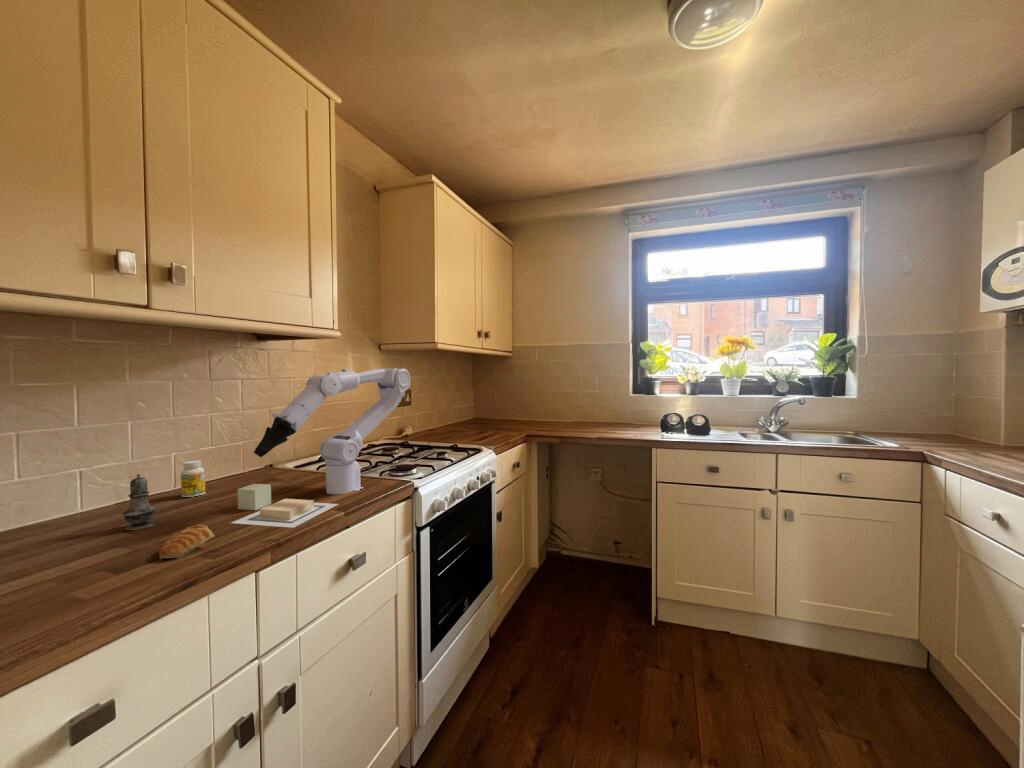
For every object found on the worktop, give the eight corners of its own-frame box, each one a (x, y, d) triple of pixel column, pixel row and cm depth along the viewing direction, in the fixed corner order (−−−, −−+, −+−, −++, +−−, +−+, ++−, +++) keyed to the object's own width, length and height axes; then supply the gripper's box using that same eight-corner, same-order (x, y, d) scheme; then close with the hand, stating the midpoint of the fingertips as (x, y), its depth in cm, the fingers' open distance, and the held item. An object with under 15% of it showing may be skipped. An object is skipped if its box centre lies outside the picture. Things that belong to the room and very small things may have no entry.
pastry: (185, 561, 76) (184, 540, 76) (146, 563, 75) (145, 543, 75) (217, 540, 85) (216, 522, 85) (182, 542, 84) (181, 524, 84)
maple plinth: (285, 506, 103) (285, 498, 103) (314, 508, 101) (313, 500, 101) (260, 517, 95) (259, 509, 95) (290, 519, 93) (290, 511, 93)
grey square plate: (283, 504, 107) (283, 500, 107) (338, 507, 104) (338, 503, 104) (230, 527, 92) (230, 522, 92) (293, 532, 88) (293, 527, 88)
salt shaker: (164, 523, 95) (162, 471, 95) (134, 532, 89) (132, 477, 89) (145, 520, 97) (143, 470, 96) (115, 530, 91) (113, 476, 91)
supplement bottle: (209, 492, 120) (207, 459, 120) (199, 497, 115) (198, 463, 114) (187, 493, 119) (186, 460, 118) (177, 499, 114) (176, 464, 113)
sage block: (254, 506, 106) (254, 483, 106) (271, 507, 105) (270, 484, 105) (238, 513, 101) (237, 489, 101) (255, 514, 100) (254, 489, 100)
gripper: (280, 407, 110) (240, 447, 101) (293, 391, 99) (250, 434, 91) (302, 424, 112) (265, 464, 104) (318, 410, 102) (278, 453, 93)
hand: (260, 451), depth 98 cm, fingers open, 7 cm apart
